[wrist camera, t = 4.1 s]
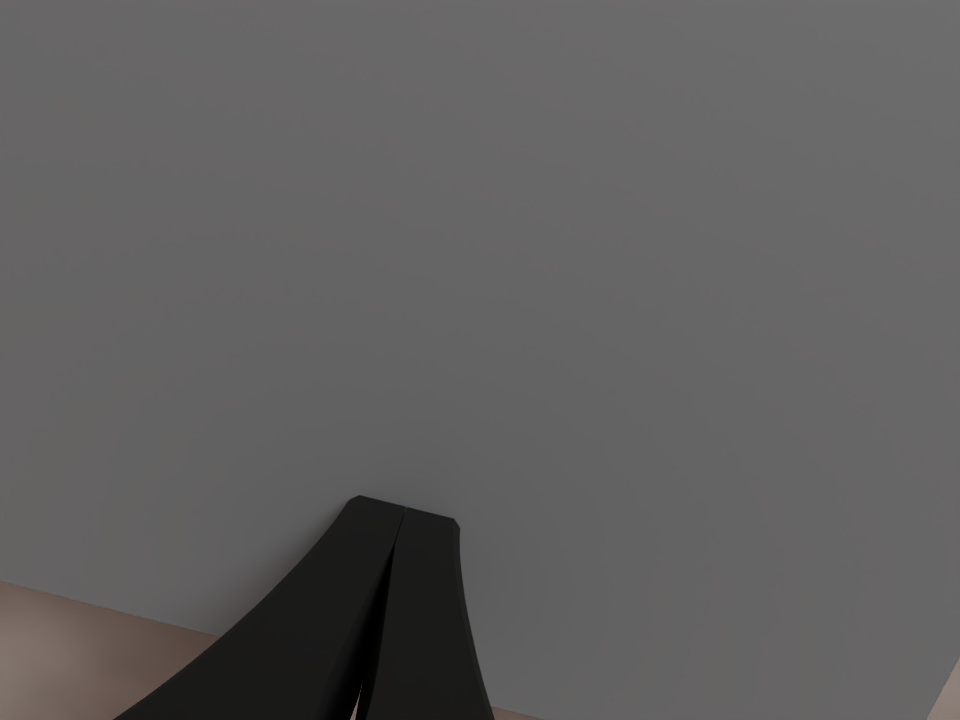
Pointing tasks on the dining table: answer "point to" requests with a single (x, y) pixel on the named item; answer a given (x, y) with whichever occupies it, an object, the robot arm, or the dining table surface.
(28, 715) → the dining table surface
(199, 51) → the loose plank
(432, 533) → the robot arm
